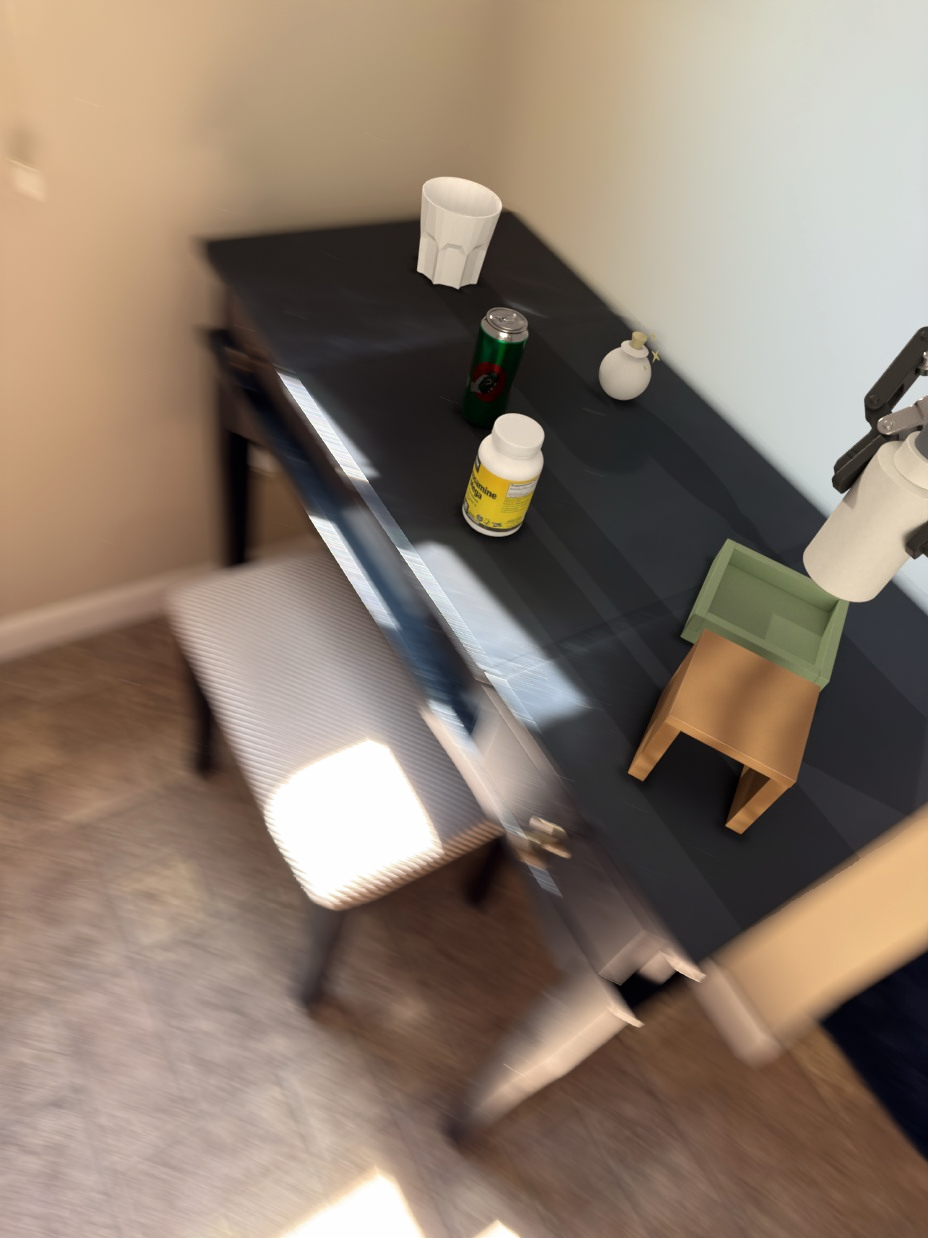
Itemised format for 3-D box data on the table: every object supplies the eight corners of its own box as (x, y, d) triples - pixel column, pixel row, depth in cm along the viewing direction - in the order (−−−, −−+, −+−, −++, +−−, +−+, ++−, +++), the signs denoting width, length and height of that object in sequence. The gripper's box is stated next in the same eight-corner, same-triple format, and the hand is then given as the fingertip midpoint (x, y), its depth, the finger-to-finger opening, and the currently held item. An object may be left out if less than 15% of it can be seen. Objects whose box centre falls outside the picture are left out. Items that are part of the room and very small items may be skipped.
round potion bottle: (624, 377, 107) (654, 304, 100) (655, 415, 103) (688, 342, 96) (583, 380, 105) (610, 306, 97) (612, 420, 101) (643, 346, 93)
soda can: (510, 427, 96) (539, 332, 87) (468, 431, 94) (494, 334, 85) (493, 398, 99) (519, 304, 90) (452, 402, 97) (475, 305, 88)
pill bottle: (451, 500, 86) (474, 410, 78) (504, 491, 89) (533, 403, 81) (477, 544, 83) (504, 456, 75) (532, 533, 86) (564, 447, 78)
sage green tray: (832, 620, 87) (850, 597, 84) (809, 703, 79) (829, 681, 77) (713, 561, 89) (727, 537, 86) (680, 637, 81) (695, 613, 78)
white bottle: (884, 565, 59) (1007, 420, 50) (873, 615, 56) (1003, 470, 47) (810, 530, 60) (918, 381, 51) (795, 577, 57) (908, 426, 47)
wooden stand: (767, 745, 75) (821, 686, 68) (740, 836, 69) (796, 781, 62) (662, 690, 77) (705, 627, 70) (626, 775, 70) (669, 714, 63)
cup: (444, 299, 110) (460, 223, 102) (394, 259, 114) (406, 183, 106) (499, 282, 115) (518, 209, 108) (450, 244, 119) (464, 171, 112)
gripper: (1017, 211, 50) (782, 421, 53) (1254, 357, 43) (970, 586, 46) (1003, 283, 56) (794, 466, 59) (1207, 420, 50) (961, 616, 53)
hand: (873, 518), depth 53 cm, fingers closed on white bottle, 5 cm apart
